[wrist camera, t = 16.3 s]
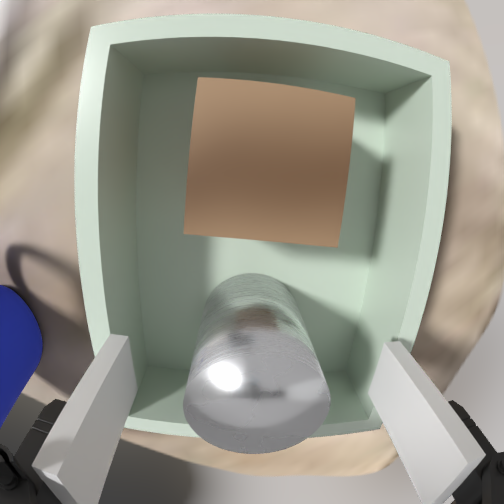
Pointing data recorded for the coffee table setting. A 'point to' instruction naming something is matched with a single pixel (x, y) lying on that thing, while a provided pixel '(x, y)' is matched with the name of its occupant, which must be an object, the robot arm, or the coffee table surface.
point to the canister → (254, 370)
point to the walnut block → (268, 162)
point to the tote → (243, 250)
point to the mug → (16, 348)
